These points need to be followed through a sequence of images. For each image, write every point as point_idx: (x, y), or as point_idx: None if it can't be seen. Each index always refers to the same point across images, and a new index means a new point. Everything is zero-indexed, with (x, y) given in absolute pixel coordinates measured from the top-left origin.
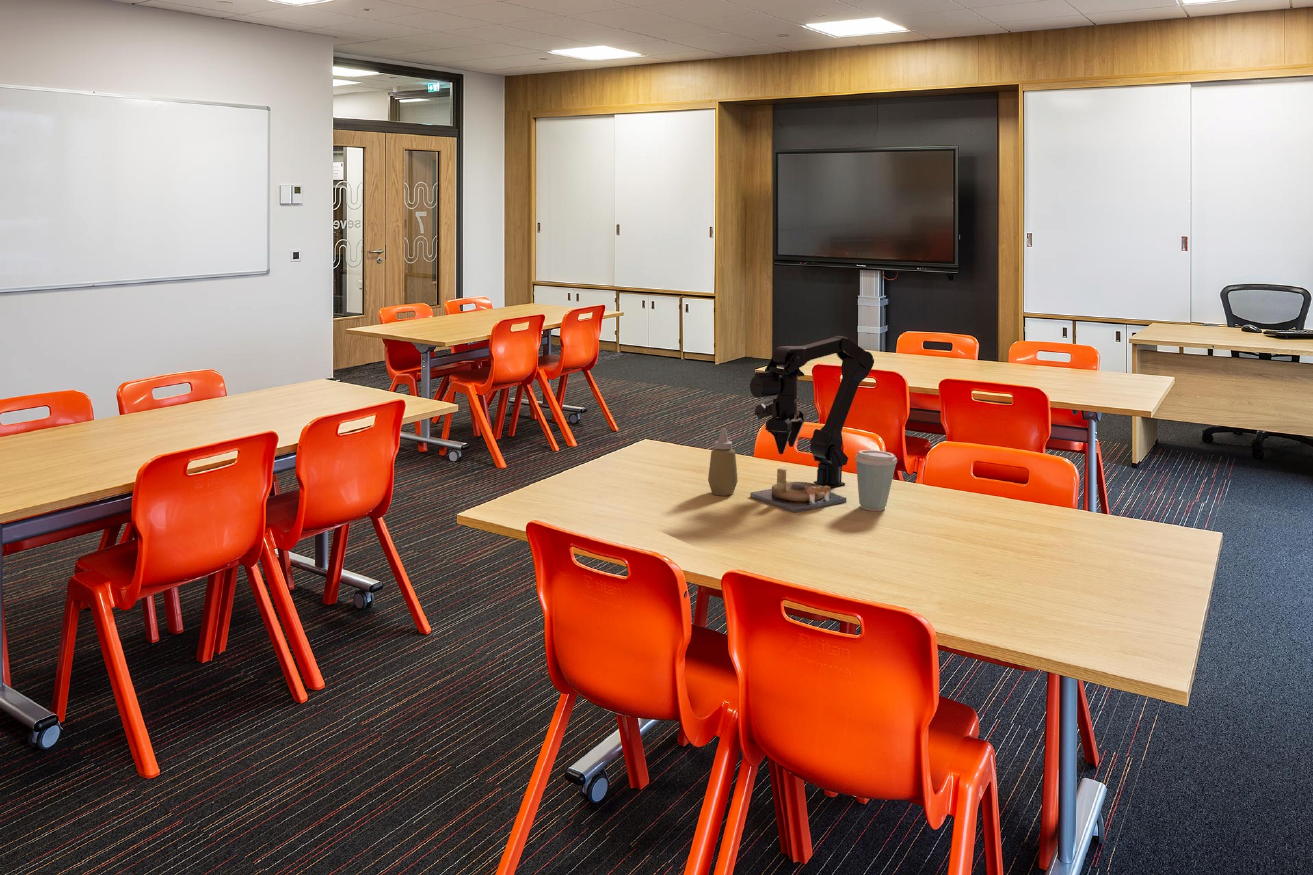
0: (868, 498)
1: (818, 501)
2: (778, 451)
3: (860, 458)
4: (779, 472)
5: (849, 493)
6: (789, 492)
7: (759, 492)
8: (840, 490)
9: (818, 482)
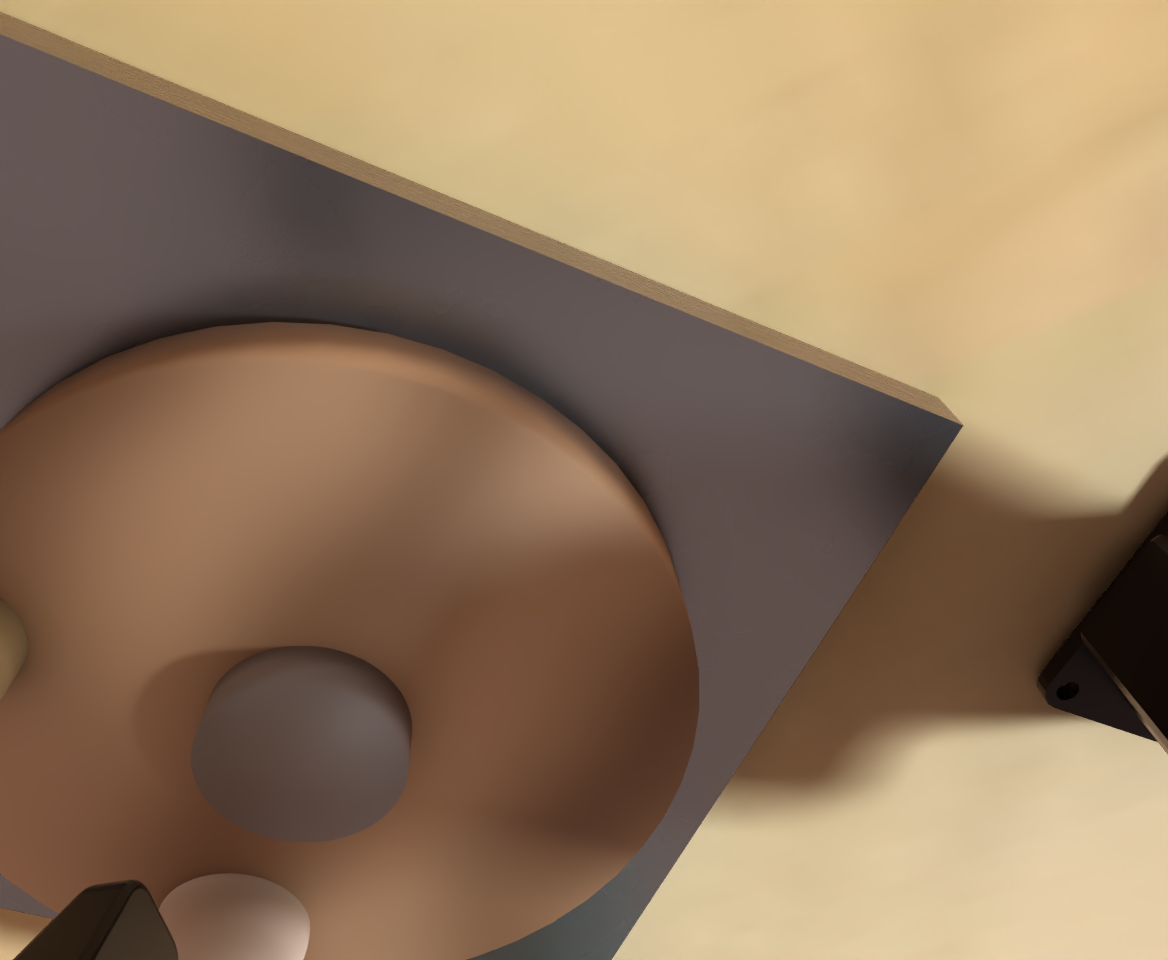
0: None
1: None
2: (19, 956)
3: None
4: None
5: (907, 891)
6: (9, 735)
7: (29, 133)
8: (993, 794)
9: (1134, 571)
